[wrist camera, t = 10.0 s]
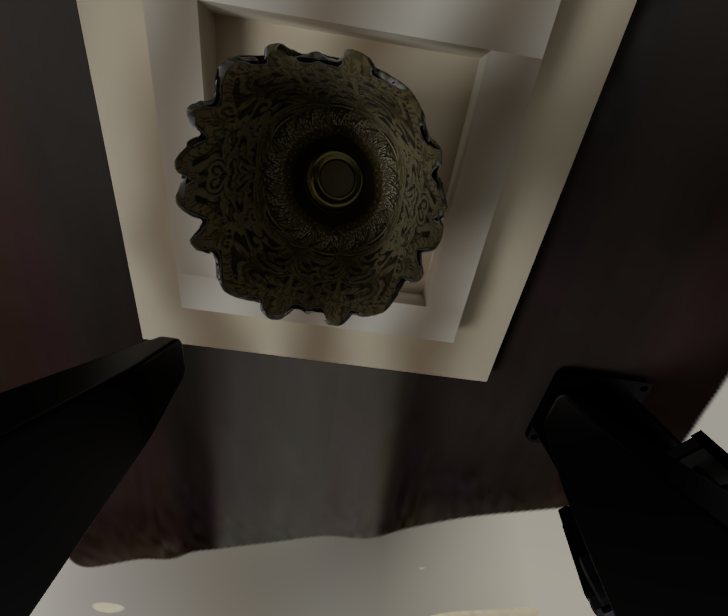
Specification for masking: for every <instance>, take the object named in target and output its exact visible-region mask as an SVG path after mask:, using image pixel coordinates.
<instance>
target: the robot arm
mask: <svg viewBox="0 0 728 616" xmlns="http://www.w3.org/2000/svg"><path fill="white" fill-rule="evenodd" d="M184 372H185V363H184V355H183V346H182V342H181V341H180V340H179V339H177V338H171V337H164V336H162V337H157V338H155V339H152V340H149V341H146V342H143V343H140V344H138V345H135V346H132V347H129V348H126V349H123V350H121V351H118V352H115V353H112V354H109V355H106V356H104V357H101V358H98V359H95V360H92V361H89V362H87V363H84V364H81V365H78V366H75V367H72V368H70V369H67V370H64V371H61V372H58V373H55V374H53V375H50V376H47V377H44V378H41V379H38V380H36V381H33V382H30V383H27V384H24V385H21V386H19V387H16V388H13V389H10V390H7V391H4V392H2V393H0V616H29V615H30V614H31V613H32V611H33V609H34V608H35V606H36V605H37V604H38V602H39V601H40V599H41V598H42V596H43V595H44V593H45V592H46V590H47V589H48V588H49V586H50V585H51V583H52V582H53V580H54V579H55V577H56V576H57V574H58V573H59V571H60V570H61V568H62V567H63V565H64V564H65V562H66V561H67V560H68V558H69V557H70V555H71V554H72V552H73V551H74V549H75V548H76V546H77V545H78V543H79V542H80V540H81V539H82V538H83V536H84V535H85V533H86V532H87V530H88V529H89V527H90V526H91V524H92V523H93V521H94V520H95V518H96V517H97V515H98V514H99V513H100V511H101V510H102V508H103V507H104V505H105V504H106V502H107V501H108V499H109V498H110V496H111V495H112V493H113V492H114V491H115V489H116V488H117V486H118V485H119V483H120V482H121V480H122V479H123V477H124V476H125V474H126V473H127V471H128V470H129V468H130V467H131V466H132V464H133V463H134V461H135V460H136V458H137V457H138V455H139V454H140V452H141V451H142V449H143V448H144V446H145V445H146V443H147V442H148V440H149V439H150V437H151V435H152V434H153V432H154V430H155V429H156V427H157V425H158V423H159V421H160V419H161V417H162V416H163V414H164V412H165V410H166V408H167V406H168V404H169V403H170V401H171V399H172V397H173V395H174V393H175V391H176V390H177V388H178V386H179V384H180V382H181V380H182V378H183V376H184ZM563 376H565V377H563ZM562 377H563V378H562ZM651 389H652V385H651V384H650V383H649V382H648V381H647V380H645V379H640V378H632V377H624V376H616V375H609V374H601V373H593V372H585V371H578V370H570V369H561V370H558V371H557V372H556V373H555V375H554V377H553V379H552V381H551V383H550V385H549V387H548V389H547V391H546V392H545V394H544V396H543V398H542V400H541V402H540V404H539V406H538V408H537V410H536V412H535V414H534V416H533V418H532V420H531V422H530V424H529V426H528V428H527V430H526V432H525V435H526V437H527V439H528V440H529V441H531V442H538V443H542V444H543V446H544V447H545V449H546V451H547V453H548V455H549V456H550V458H551V460H552V462H553V463H554V465H555V467H556V469H557V471H558V474H559V477H560V481H561V484H562V487H563V490H564V493H565V495H566V498H567V500H568V503H569V505H570V506H564V507H563V508H561V509H559V510H558V511H559V514H560V517H561V520H562V524H563V529H564V532H565V535H566V538H567V541H568V544H569V548H570V551H571V554H572V557H573V560H574V563H575V566H576V569H577V572H578V575H579V579H580V582H581V585H582V588H583V591H584V594H585V596H586V598H587V599H588V601H589V602H590V605H591V608H592V609H593V611H594V613H595V614H596V615H597V616H728V453H726V452H725V451H724V450H723V449H722V448H721V447H720V446H718V445H717V444H716V443H715V442H714V441H713V440H711V439H710V438H709V437H708V436H707V435H706V434H705V433H703V432H702V431H701V430H700V431H699V432H697V433H695V434H693V435H691V437H692V438H691V439H689V440H687V441H685V442H683V443H681V442H680V441H679V440H678V439H677V438H676V437H675V436H674V435H673V434H672V433H671V432H670V431H669V430H668V429H667V428H666V427H665V426H664V425H663V424H662V423H661V422H660V421H659V420H658V419H657V418H656V417H654V416H653V415H652V414H651V413H650V412H649V411H648V410H647V409H646V408H645V407H644V406H643V405H642V402H643V401H644V399H645V398H646V397H647V395H648V394H649V392H650V391H651Z"/></svg>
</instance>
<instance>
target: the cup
mask: <svg viewBox="0 0 728 616" xmlns="http://www.w3.org/2000/svg"><path fill="white" fill-rule="evenodd" d="M186 112H187V117H188V119H189V123H190V124H191V125H192V127H193V128H194V126H195V127H196V128H197V130H198V131H199V132H200V135H199V136H197V137H194V138H192V139H190V140H189V141H187V146H186V147H185V148H184V149H183V150H182V151H181V152H180V153H179V155H178V156H177V157H176V159H175V161H174V167H175V169H176V171H177V173H179V174H181V175H182V177H181V178H182V179H185V180H184V181H183V182H181V183H180V186H179V189H178V192H177V194H176V197H175V198H176V203H177V205H178V207H179V208H180V209H181V210H182V211H184V212H185V213H187V214H188V215H190V216H192V217H194V218H197V219H201V220H202V223H201V225H200V227H199V229H198V230H197V231H196V232H195V233H194V235H193V236H192V237H191V239H190V241H189V242H190V244H191V245H192V246H193V248H194V249H196V250H197V251H201V252H204V253H208V254H210V253H211V252H212V253H213V256H214V259H215V260H216V275H217V278H218V281H219V283H220V286H221V287H222V289H223V291H224V292H226V293H227V294H229V295H231V296H233V297H236V298H239V299H243V300H247V301H254V302H257V303H260V308H261V311H262V313H263V314H264V315H265V316H266V317H267V318H269V319H271V320H281V319H283V318H284V317H285V316H287V315H288V314H290V312H291V311H293V310H294V309H298V310H302V311H303V312H304V313H306V314H311V313H314V312H317V313H323V314H324V315H325V318H326V320H324V321H325V323H326V324H327V325H332V326H340V325H342V324H344V323H345V322H346V321H347V320H348V319H349V318H350V317H351V315H357V316H359V317H369V316H374V315H378V314H381V313H383V312H385V311H386V310H387V309H388V308H389V307H390V306H391V304H392V303H393V302H394V300H395V299H396V297H397V296H398V294H399V291H400V290H401V288H402V287H403V285H404V283H405V282H406V281H409V283H416V282H418V281H420V280H421V279H422V277H423V275H424V271H423V264H422V253H423V252H430V251H434V250H435V249H436V248H437V247H438V245H439V243H440V241H441V239H442V236H443V228H444V224H443V223H442V221H441V219H442V218H444V213H445V212H446V210H447V208H448V205H447V200H446V196H445V193H444V190H443V180H442V179H441V178H440V177H439V176H438V170H439V168H440V167H441V166H442V157H443V154H442V149H441V147H440V146H439V145H438V144H437V143H436V141H434V140H433V139H432V138H431V137H430V135H429V132H428V129H427V126H426V117H425V115H424V112H423V110H422V108H421V106H420V104H419V102H418V100H417V99H416V97H415V95H414V94H413V93H412V91H411V90H410V89H409V88H408V87H407V86H406V85H404V84H403V83H402V82H400V81H399V80H397V79H396V78H394V77H392V76H390V75H389V74H388V73H387V72H385V71H383V70H380V69H378V68H376V67H375V65H374V63H373V61H372V60H371V59H370V58H369V57H368V56H366V55H365V54H363V53H361V52H359V51H356V50H353V49H346V50H345V51H344V55H343V56H342V57H341V58H337V57H333V56H327V55H325V54H322V53H320V52H318V51H314V52H310V53H308V54H306V53H303V54H302V53H298V52H297V51H295V50H293V49H289V48H288V47H286V46H285V45H284V44H280V43H274V44H269V45H268V46H266V47H265V49H264V55H259V56H256V55H234V56H231V57H228V58H226V60H224V61H223V62H222V63H221V64H220V65H219V67H218V68H217V72H216V76H215V92H214V95H213V97H212V99H211V100H209V101H198V102H197V103H194V104H191V105H189V106H188V107H187V110H186ZM331 161H342V162H344V163H346V164H347V165H348V166H349V167H350V168H351V170H352V172H353V175H354V184H353V187H352V189H351V190H350V191H349V192H348V193H347V194H346V195H344V196H340V197H336V196H332V195H330V194H328V193H327V192H326V191H325V190H324V188H323V187H322V184H321V180H320V176H321V172H322V169H323V168H324V166H325V165H326V164H328V163H329V162H331ZM212 253H211V254H212ZM409 283H407V284H409ZM291 309H292V310H291ZM288 311H289V312H288ZM287 312H288V313H287ZM286 313H287V314H286Z"/></svg>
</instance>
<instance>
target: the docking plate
mask: <svg viewBox="0 0 728 616" xmlns="http://www.w3.org/2000/svg"><path fill="white" fill-rule="evenodd" d="M76 2H77V7H78V12H79V17H80V22H81V27H82V32H83V37H84V42H85V47H86V52H87V57H88V62H89V67H90V72H91V78H92V83H93V88H94V93H95V98H96V103H97V108H98V113H99V118H100V123H101V128H102V133H103V138H104V143H105V148H106V153H107V159H108V164H109V169H110V174H111V179H112V184H113V189H114V194H115V199H116V204H117V209H118V214H119V219H120V224H121V229H122V234H123V240H124V245H125V250H126V255H127V260H128V265H129V270H130V275H131V280H132V285H133V290H134V295H135V300H136V305H137V310H138V315H139V320H140V326H141V331H142V336H143V339H150V340H152V339H155V338H157V337H162V336H164V337H171V338H177V339H179V340H180V341H181V342H182V344H190V345H197V346H205V347H213V348H221V349H229V350H237V351H245V352H253V353H261V354H269V355H277V356H285V357H293V358H301V359H309V360H317V361H325V362H333V363H341V364H349V365H357V366H365V367H373V368H381V369H389V370H397V371H405V372H413V373H421V374H429V375H437V376H444V377H452V378H460V379H468V380H476V381H484V382H487V379H488V377H489V374H490V372H491V369H492V366H493V364H494V361H495V359H496V356H497V354H498V351H499V349H500V346H501V344H502V341H503V339H504V336H505V334H506V331H507V328H508V326H509V323H510V321H511V318H512V316H513V313H514V311H515V308H516V306H517V303H518V301H519V298H520V296H521V293H522V290H523V288H524V285H525V283H526V280H527V278H528V275H529V273H530V270H531V268H532V265H533V263H534V260H535V258H536V255H537V252H538V250H539V247H540V245H541V242H542V240H543V237H544V235H545V232H546V230H547V227H548V225H549V222H550V220H551V217H552V214H553V212H554V209H555V207H556V204H557V202H558V199H559V197H560V194H561V192H562V189H563V187H564V184H565V182H566V179H567V176H568V174H569V171H570V169H571V166H572V164H573V161H574V159H575V156H576V154H577V151H578V149H579V146H580V144H581V141H582V138H583V136H584V133H585V131H586V128H587V126H588V123H589V121H590V118H591V116H592V113H593V111H594V108H595V105H596V103H597V100H598V98H599V95H600V93H601V90H602V88H603V85H604V83H605V80H606V78H607V75H608V73H609V70H610V67H611V65H612V62H613V60H614V57H615V55H616V52H617V50H618V47H619V45H620V42H621V40H622V37H623V35H624V32H625V29H626V27H627V24H628V22H629V19H630V17H631V14H632V12H633V9H634V7H635V4H636V2H637V0H76ZM274 43H280V44H284V45H285V46H286V47H288V48H289V49H293V50H295V51H297V52H298V53H302V54H303V53H306V54H308V53H310V52H314V51H318V52H320V53H322V54H325V55H327V56H333V57H337V58H341V57H342V56H343V55H344V51H345V50H346V49H353V50H356V51H359V52H361V53H363V54H365V55H366V56H368V57H369V58H370V59H371V60H372V61H373V63H374V65H375V67H376V68H378V69H380V70H383V71H385V72H387V73H388V74H389V75H390V76H392V77H394V78H396V79H397V80H399V81H400V82H402V83H403V84H404V85H406V86H407V87H408V88H409V89H410V90H411V91H412V93H413V94H414V95H415V97H416V99H417V100H418V102H419V104H420V106H421V108H422V110H423V112H424V115H425V117H426V126H427V129H428V132H429V135H430V137H431V138H432V139H433V140H434V141H436V143H437V144H438V145H439V146H440V147H441V149H442V154H443V157H442V166H441V167H440V168H439V170H438V176H439V177H440V178H441V179H442V180H443V190H444V193H445V196H446V200H447V205H448V208H447V210H446V212H445V213H444V218H442V219H441V221H442V223H443V224H444V228H443V236H442V239H441V241H440V243H439V245H438V247H437V248H436V249H435V250H434V251H430V252H423V253H422V264H423V271H424V275H423V277H422V279H421V280H420V281H418V282H416V283H409V281H406V282H405V283H404V285H403V287H402V288H401V290H400V291H399V294H398V296H397V297H396V299H395V300H394V302H393V303H392V304H391V306H390V307H389V308H388V309H387V310H386V311H385V312H383V313H381V314H378V315H374V316H369V317H359V316H357V315H351V317H350V318H349V319H348V320H347V321H346V322H345V323H344V324H342V325H340V326H332V325H327V324H326V323H325V321H324V320H326V318H325V315H324V314H323V313H317V312H314V313H311V314H306V313H304V312H303V311H302V310H298V309H294V310H293V311H291V312H290V314H288V315H287V316H285V317H284V318H283V319H281V320H271V319H269V318H267V317H266V316H265V315H264V314H263V313H262V311H261V308H260V303H257V302H254V301H247V300H243V299H239V298H236V297H233V296H231V295H229V294H227V293H226V292H224V291H223V289H222V287H221V286H220V283H219V281H218V278H217V275H216V260H215V259H214V256H213V253H212V252H211V253H212V254H211V253H210V254H208V253H204V252H201V251H197V250H196V249H194V248H193V246H192V245H191V244H190V242H189V241H190V239H191V237H192V236H193V235H194V233H195V232H196V231H197V230H198V229H199V227H200V225H201V223H202V220H201V219H197V218H194V217H192V216H190V215H188V214H187V213H185V212H184V211H182V210H181V209H180V208H179V207H178V205H177V203H176V198H175V197H176V194H177V192H178V189H179V186H180V183H181V182H183V181H184V180H185V179H182V178H181V177H182V175H181V174H179V173H177V171H176V169H175V167H174V161H175V159H176V157H177V156H178V155H179V153H180V152H181V151H182V150H183V149H184V148H185V147H186V146H187V141H189V140H190V139H192V138H194V137H197V136H199V135H200V132H199V131H198V130H197V128H196V127H195V126H194V128H193V127H192V125H191V124H190V123H189V119H188V117H187V112H186V110H187V107H188V106H189V105H191V104H194V103H197V102H198V101H209V100H211V99H212V97H213V95H214V92H215V76H216V72H217V68H218V67H219V65H220V64H221V63H222V62H223V61H224V60H226V58H228V57H231V56H234V55H256V56H259V55H264V49H265V47H266V46H268V45H269V44H274ZM320 180H321V184H322V187H323V188H324V190H325V191H326V192H327V193H328V194H330V195H332V196H336V197H340V196H344V195H346V194H347V193H348V192H349V191H350V190H351V189H352V187H353V184H354V175H353V172H352V170H351V168H350V167H349V166H348V165H347V164H346V163H344V162H342V161H331V162H329V163H328V164H326V165H325V166H324V168H323V169H322V172H321V176H320ZM407 283H409V284H407ZM291 310H292V309H291ZM288 312H289V311H288ZM288 312H287V313H288ZM287 313H286V314H287Z"/></svg>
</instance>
